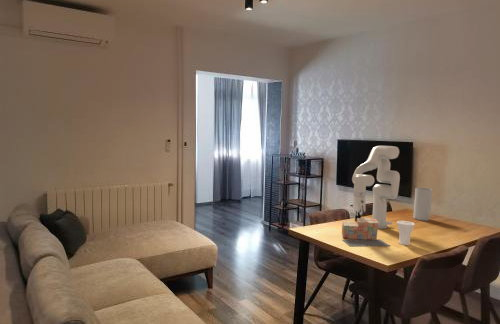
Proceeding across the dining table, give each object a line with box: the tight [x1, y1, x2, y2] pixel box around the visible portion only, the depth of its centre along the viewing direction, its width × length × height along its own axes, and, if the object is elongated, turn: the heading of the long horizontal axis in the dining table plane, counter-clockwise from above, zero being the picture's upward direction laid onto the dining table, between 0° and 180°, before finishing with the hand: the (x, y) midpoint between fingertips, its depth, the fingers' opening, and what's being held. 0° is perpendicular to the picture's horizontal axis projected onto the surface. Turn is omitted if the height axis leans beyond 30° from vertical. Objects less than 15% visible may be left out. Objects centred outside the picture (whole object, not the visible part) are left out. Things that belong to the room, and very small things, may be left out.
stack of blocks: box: [341, 217, 379, 240], centre depth 239 cm, size 21×6×12 cm, turn 84°
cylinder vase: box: [412, 187, 433, 222], centre depth 301 cm, size 12×12×25 cm
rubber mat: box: [342, 238, 391, 247], centre depth 232 cm, size 26×13×1 cm, turn 98°
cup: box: [396, 220, 415, 246], centre depth 232 cm, size 10×10×14 cm
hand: (357, 221), depth 243 cm, fingers closed
